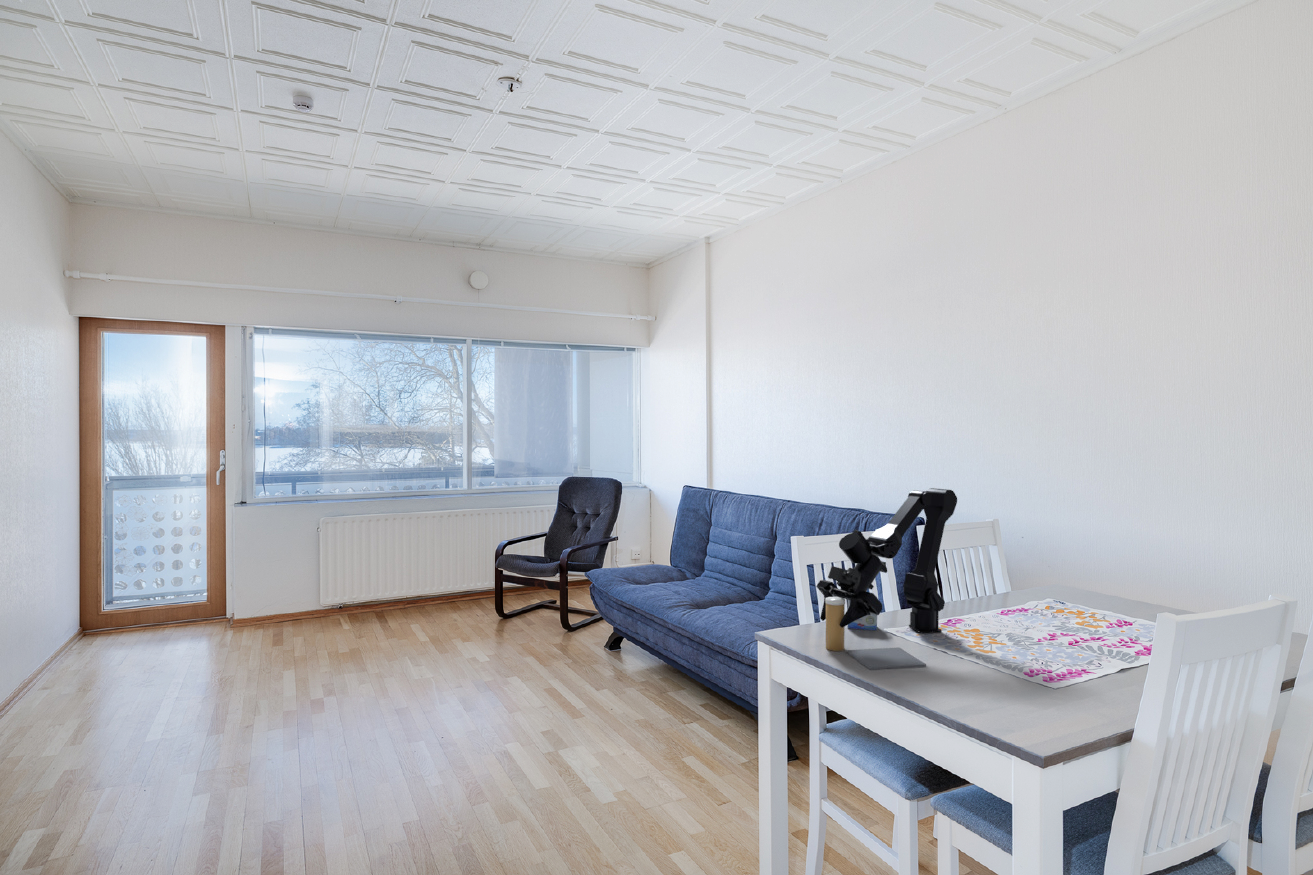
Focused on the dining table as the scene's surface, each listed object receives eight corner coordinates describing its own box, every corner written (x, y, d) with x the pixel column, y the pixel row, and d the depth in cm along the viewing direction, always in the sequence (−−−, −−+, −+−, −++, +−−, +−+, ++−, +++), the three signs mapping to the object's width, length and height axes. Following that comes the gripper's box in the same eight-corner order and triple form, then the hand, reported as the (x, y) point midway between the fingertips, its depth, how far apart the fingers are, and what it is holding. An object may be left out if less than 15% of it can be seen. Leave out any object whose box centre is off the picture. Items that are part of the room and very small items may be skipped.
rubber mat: (899, 649, 182) (899, 647, 182) (926, 666, 169) (926, 664, 169) (846, 652, 179) (846, 650, 179) (869, 669, 167) (869, 667, 167)
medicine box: (847, 628, 200) (847, 597, 200) (847, 624, 205) (848, 593, 204) (877, 630, 198) (877, 599, 198) (877, 626, 202) (877, 595, 202)
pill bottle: (840, 644, 185) (840, 596, 185) (847, 650, 181) (848, 601, 180) (822, 645, 185) (822, 597, 184) (829, 651, 180) (829, 601, 180)
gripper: (821, 549, 192) (789, 595, 187) (874, 560, 176) (840, 611, 171) (843, 575, 196) (812, 621, 191) (897, 589, 180) (864, 640, 175)
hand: (830, 623), depth 182 cm, fingers open, 7 cm apart
